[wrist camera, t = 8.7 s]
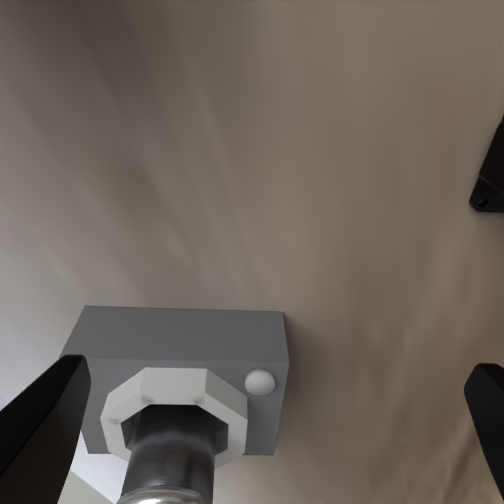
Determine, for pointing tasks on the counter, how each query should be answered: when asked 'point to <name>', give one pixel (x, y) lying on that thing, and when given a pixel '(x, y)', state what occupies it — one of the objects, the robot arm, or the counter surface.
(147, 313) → the camera body
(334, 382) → the counter surface
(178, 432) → the lens
